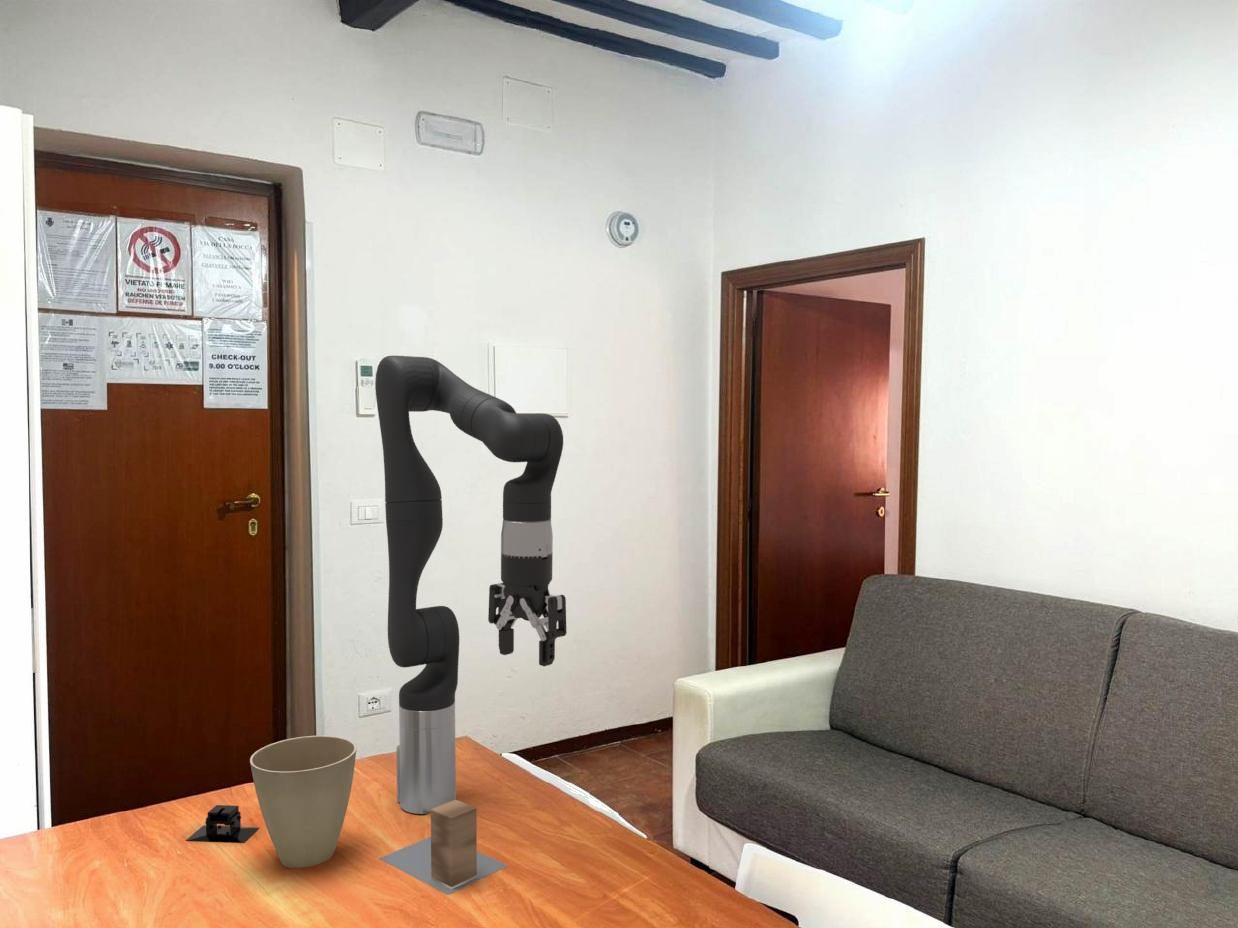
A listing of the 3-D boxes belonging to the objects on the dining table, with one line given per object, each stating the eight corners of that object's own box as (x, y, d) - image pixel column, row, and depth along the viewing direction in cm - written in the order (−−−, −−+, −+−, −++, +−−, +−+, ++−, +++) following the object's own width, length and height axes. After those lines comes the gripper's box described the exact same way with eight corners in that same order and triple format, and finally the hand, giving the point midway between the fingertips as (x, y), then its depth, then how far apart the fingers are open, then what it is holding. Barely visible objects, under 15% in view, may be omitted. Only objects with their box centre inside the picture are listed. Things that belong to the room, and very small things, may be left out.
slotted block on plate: (173, 846, 146) (172, 817, 146) (198, 825, 153) (197, 797, 153) (251, 849, 145) (251, 819, 145) (272, 828, 152) (272, 800, 152)
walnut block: (431, 878, 134) (430, 809, 133) (456, 867, 137) (455, 799, 137) (451, 889, 131) (451, 818, 130) (476, 877, 134) (476, 807, 134)
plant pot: (328, 826, 152) (326, 728, 151) (376, 857, 141) (375, 752, 140) (235, 857, 141) (232, 751, 140) (279, 893, 131) (277, 779, 130)
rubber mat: (378, 860, 140) (378, 858, 140) (438, 835, 148) (438, 833, 148) (448, 897, 130) (448, 894, 130) (508, 868, 138) (508, 865, 138)
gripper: (475, 547, 141) (474, 655, 142) (542, 559, 132) (541, 674, 133) (512, 542, 147) (512, 645, 148) (579, 552, 137) (578, 663, 138)
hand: (526, 659), depth 140 cm, fingers open, 8 cm apart
